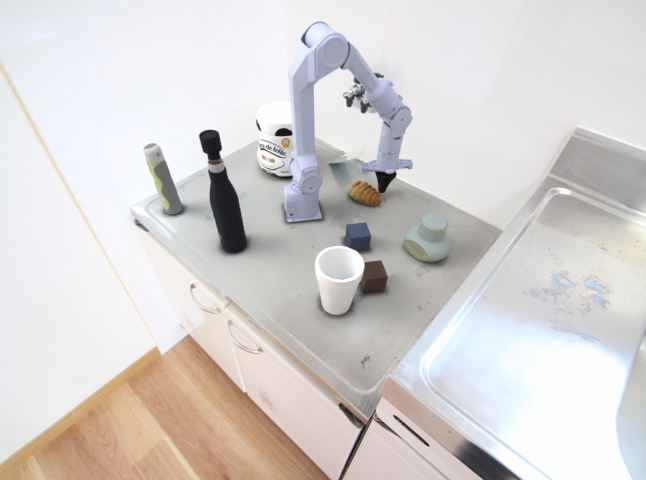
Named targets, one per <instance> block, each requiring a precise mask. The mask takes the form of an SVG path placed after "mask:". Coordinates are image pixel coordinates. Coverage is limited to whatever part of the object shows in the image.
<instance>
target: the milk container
mask: <svg viewBox="0 0 646 480" xmlns="http://www.w3.org/2000/svg"><path fill="white" fill-rule="evenodd" d="M255 125H256V131H257V137H258V138H257V139H258V144H257V154H256V155H257V160H258V163H259V166H260V168H261V170H262V171H264V172H265V173H266V174H268V175H271V176H274V177H278V178H279V177H280V178H288V177H289V178H290V177H293V175H292V174H291V173H290V171H289V167H288V166H289V162H290V160H291V152H292V151H293V150H294V148H293V134H292V120H291V106H290V100H288V101H287V100H281V101H272V102H269V103H266V104H263V105H261V106H260V107H259V108H258V109H257V110H256V114H255Z"/></svg>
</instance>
